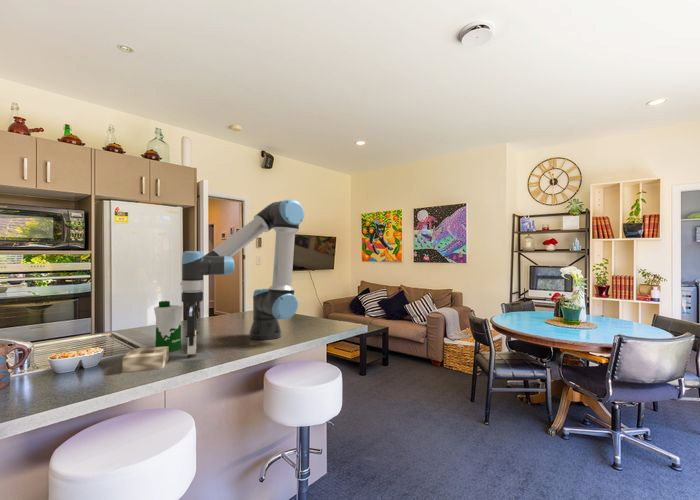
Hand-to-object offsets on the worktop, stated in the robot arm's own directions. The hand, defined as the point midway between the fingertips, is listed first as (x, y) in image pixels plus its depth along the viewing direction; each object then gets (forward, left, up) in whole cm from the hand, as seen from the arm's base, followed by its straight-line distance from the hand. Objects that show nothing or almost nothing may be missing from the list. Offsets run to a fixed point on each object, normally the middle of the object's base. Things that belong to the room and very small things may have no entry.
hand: (191, 352), depth 135 cm
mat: (0, 0, -2) cm, 2 cm away
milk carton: (+10, -14, -2) cm, 17 cm away
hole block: (+14, +6, -2) cm, 15 cm away
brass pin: (0, 0, -2) cm, 2 cm away
